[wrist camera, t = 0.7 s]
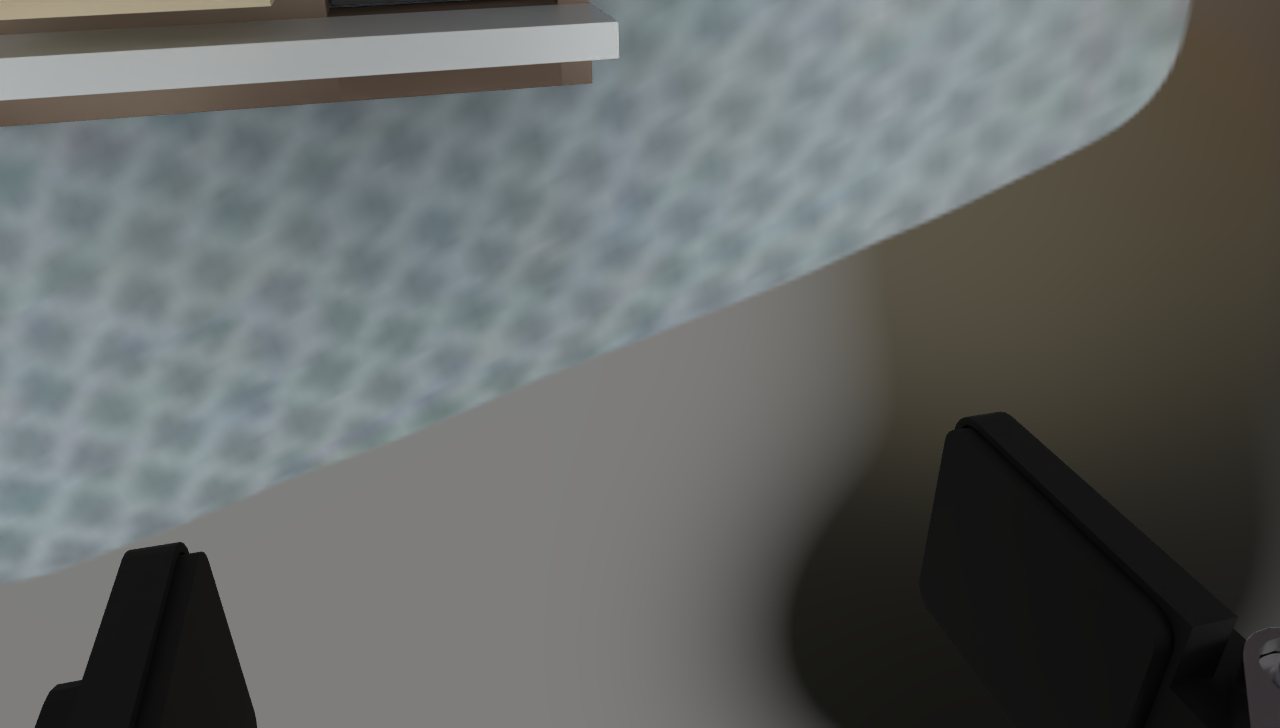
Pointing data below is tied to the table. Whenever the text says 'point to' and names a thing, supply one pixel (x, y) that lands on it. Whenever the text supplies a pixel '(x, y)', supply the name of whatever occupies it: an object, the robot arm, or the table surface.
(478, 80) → the channel board
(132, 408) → the table surface
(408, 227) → the table surface
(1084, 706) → the robot arm
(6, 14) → the maple block
